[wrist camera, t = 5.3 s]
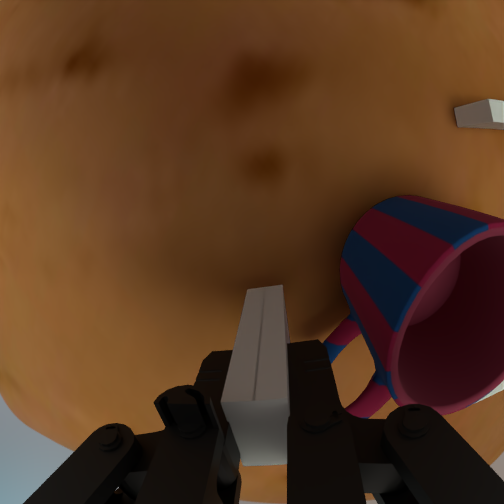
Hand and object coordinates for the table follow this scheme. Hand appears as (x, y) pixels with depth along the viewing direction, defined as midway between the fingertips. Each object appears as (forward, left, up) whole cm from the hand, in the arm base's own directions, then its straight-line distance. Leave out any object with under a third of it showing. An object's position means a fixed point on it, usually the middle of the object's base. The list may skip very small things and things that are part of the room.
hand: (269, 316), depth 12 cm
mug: (0, +5, -2) cm, 6 cm away
